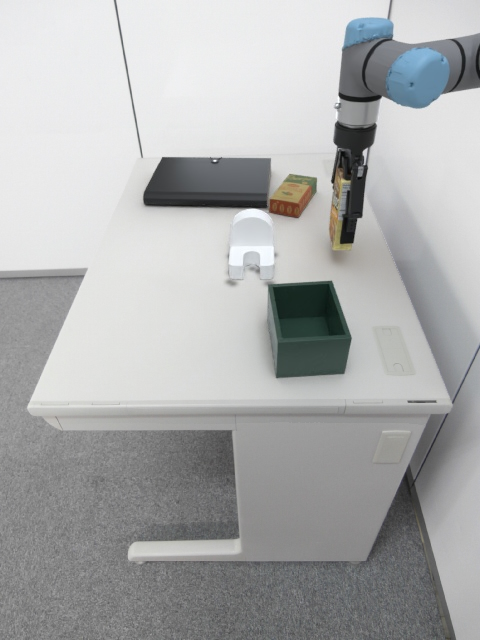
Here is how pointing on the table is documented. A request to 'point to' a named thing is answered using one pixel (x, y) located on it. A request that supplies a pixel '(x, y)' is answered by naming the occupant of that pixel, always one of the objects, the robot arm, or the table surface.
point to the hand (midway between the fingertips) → (341, 230)
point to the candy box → (338, 210)
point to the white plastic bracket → (251, 243)
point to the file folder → (210, 182)
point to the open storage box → (307, 329)
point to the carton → (293, 195)
